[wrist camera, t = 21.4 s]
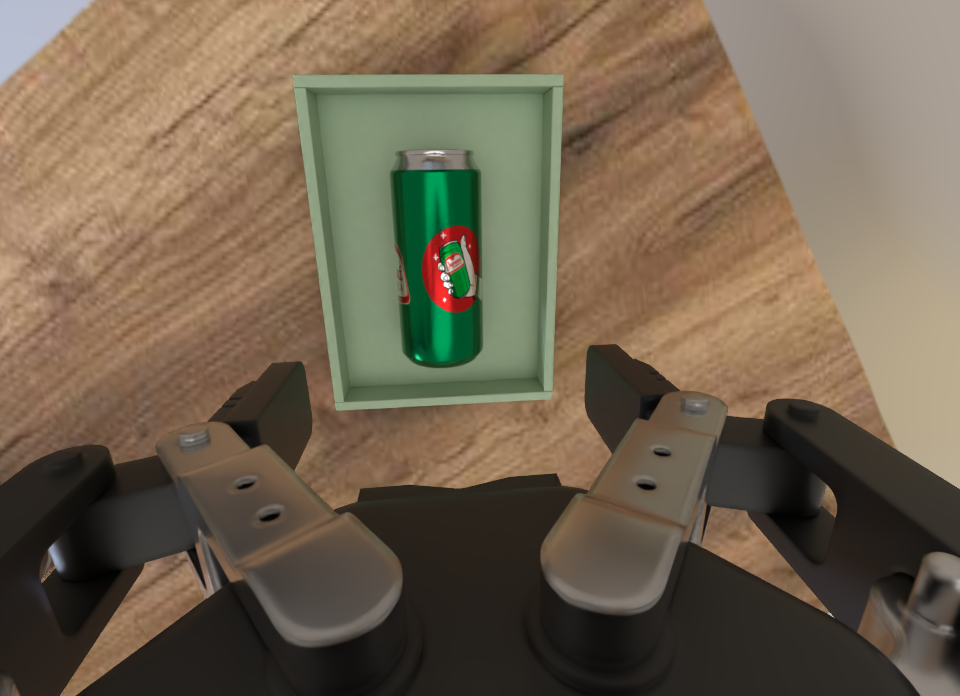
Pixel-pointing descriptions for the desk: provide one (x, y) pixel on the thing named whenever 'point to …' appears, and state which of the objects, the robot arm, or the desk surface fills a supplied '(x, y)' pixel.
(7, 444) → the desk surface
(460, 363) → the soda can
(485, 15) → the desk surface
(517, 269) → the tray
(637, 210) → the desk surface
